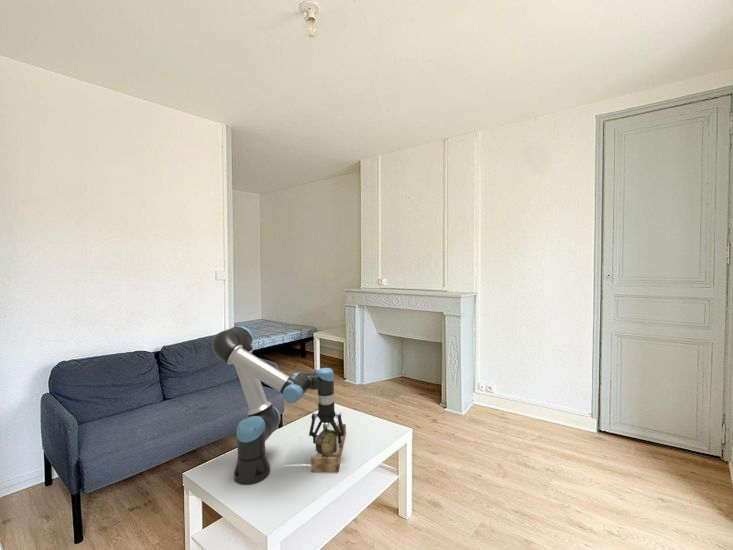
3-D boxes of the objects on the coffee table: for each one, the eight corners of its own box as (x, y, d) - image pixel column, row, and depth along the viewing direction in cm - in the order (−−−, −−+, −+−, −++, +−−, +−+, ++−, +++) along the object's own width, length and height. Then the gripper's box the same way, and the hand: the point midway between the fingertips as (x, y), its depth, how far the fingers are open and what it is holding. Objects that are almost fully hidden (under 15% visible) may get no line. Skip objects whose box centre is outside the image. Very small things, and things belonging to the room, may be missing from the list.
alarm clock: (321, 463, 157) (320, 427, 157) (314, 458, 161) (313, 423, 160) (339, 453, 165) (339, 419, 164) (332, 449, 169) (331, 416, 168)
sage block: (326, 445, 175) (325, 430, 174) (329, 436, 184) (328, 421, 183) (336, 445, 174) (335, 430, 174) (338, 436, 183) (338, 421, 183)
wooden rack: (311, 472, 155) (311, 458, 155) (323, 435, 188) (323, 424, 188) (338, 472, 154) (338, 458, 154) (345, 435, 187) (345, 423, 187)
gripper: (301, 405, 159) (302, 454, 160) (348, 405, 158) (350, 454, 159) (304, 399, 166) (305, 445, 167) (350, 399, 166) (351, 445, 166)
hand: (327, 450), depth 163 cm, fingers closed on alarm clock, 9 cm apart
